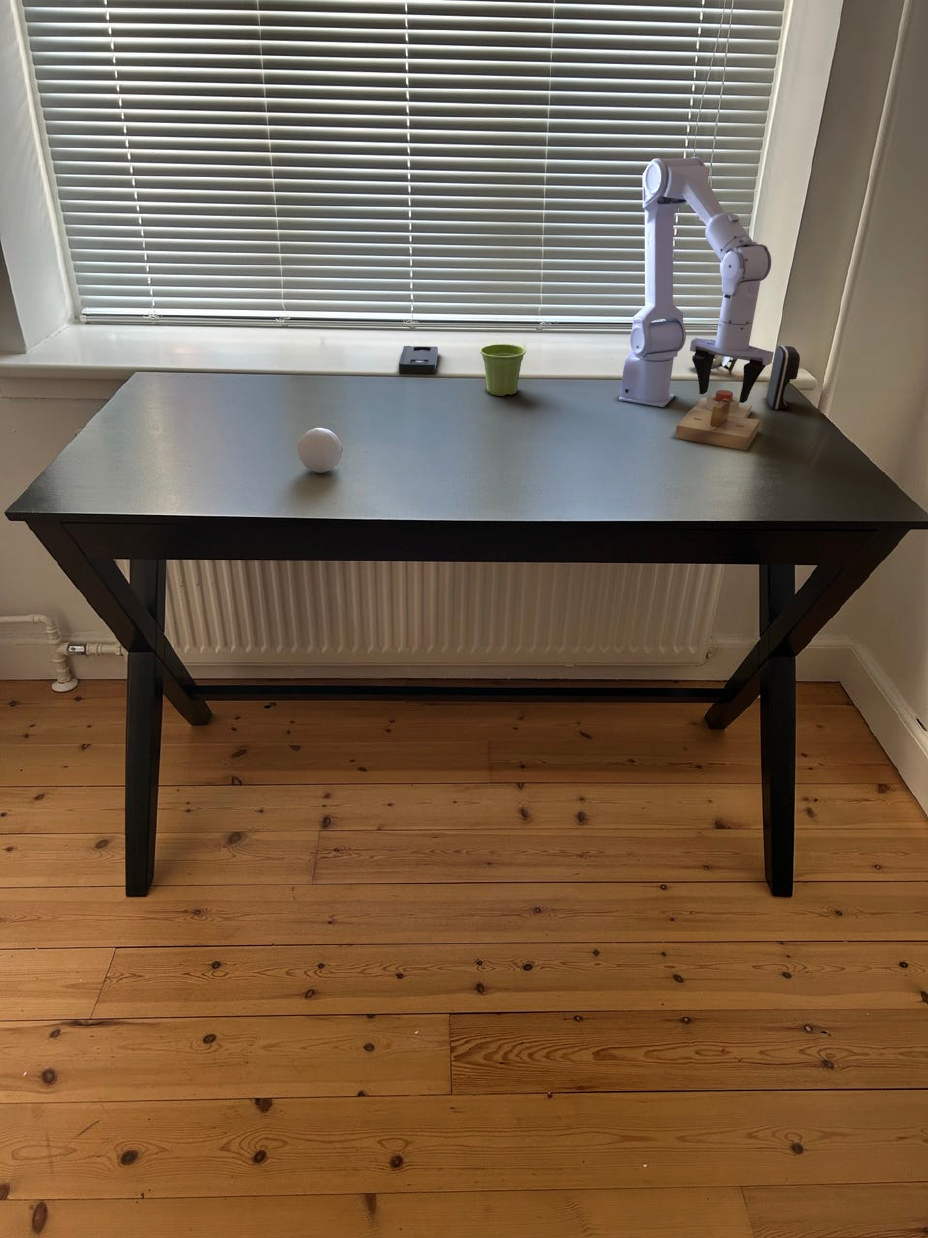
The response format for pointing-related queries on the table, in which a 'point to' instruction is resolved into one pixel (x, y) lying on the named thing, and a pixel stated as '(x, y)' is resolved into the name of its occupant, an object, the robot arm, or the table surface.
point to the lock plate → (717, 430)
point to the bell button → (723, 395)
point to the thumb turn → (720, 412)
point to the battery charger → (782, 375)
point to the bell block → (734, 409)
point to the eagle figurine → (722, 363)
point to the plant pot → (502, 367)
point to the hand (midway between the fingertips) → (723, 396)
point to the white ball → (319, 450)
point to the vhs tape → (418, 359)
